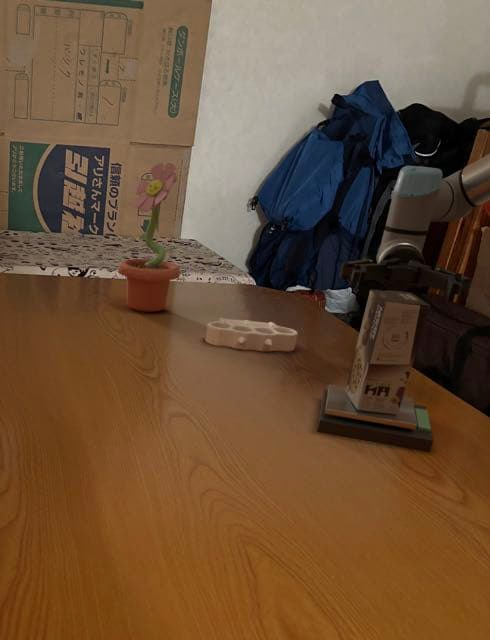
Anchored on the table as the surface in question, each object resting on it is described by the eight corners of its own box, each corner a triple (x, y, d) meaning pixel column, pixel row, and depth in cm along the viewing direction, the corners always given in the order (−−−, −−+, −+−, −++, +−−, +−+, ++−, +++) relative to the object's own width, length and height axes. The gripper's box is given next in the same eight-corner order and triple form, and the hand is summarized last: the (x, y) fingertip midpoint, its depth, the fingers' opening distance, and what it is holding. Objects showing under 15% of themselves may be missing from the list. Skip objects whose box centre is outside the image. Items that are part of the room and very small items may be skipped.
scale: (422, 416, 125) (426, 403, 124) (429, 452, 112) (434, 437, 111) (322, 399, 129) (325, 386, 128) (317, 431, 115) (320, 417, 114)
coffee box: (399, 415, 115) (432, 305, 107) (355, 411, 115) (385, 300, 107) (384, 395, 123) (413, 291, 115) (343, 391, 123) (369, 287, 115)
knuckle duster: (284, 336, 163) (300, 356, 151) (200, 329, 163) (208, 349, 150) (288, 320, 162) (304, 339, 149) (202, 313, 161) (211, 331, 148)
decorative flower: (101, 301, 179) (113, 156, 164) (151, 298, 185) (167, 159, 170) (134, 317, 167) (151, 164, 153) (186, 314, 174) (207, 167, 159)
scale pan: (410, 405, 123) (412, 398, 123) (415, 432, 113) (417, 424, 112) (327, 391, 126) (329, 384, 126) (323, 416, 116) (325, 408, 115)
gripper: (468, 297, 137) (484, 322, 120) (324, 278, 143) (319, 300, 125) (482, 252, 134) (500, 272, 116) (334, 235, 139) (330, 251, 122)
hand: (406, 286), depth 120 cm, fingers open, 13 cm apart
